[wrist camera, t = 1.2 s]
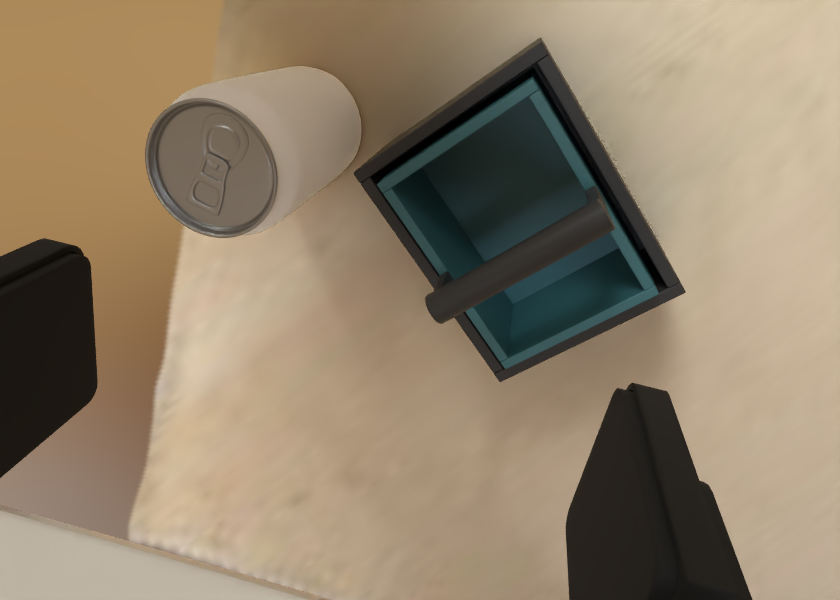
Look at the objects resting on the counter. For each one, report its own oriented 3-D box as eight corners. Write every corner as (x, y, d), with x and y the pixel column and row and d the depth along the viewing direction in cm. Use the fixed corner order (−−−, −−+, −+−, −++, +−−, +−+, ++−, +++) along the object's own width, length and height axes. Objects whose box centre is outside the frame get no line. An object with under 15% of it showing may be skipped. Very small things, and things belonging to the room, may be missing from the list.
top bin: (405, 154, 35) (353, 208, 25) (533, 67, 32) (532, 88, 22) (510, 311, 37) (501, 414, 28) (637, 244, 34) (677, 333, 25)
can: (382, 98, 34) (310, 135, 23) (339, 199, 37) (257, 274, 26) (276, 43, 34) (155, 55, 23) (241, 149, 37) (119, 203, 26)
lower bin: (383, 147, 35) (352, 173, 29) (540, 37, 32) (541, 41, 26) (505, 326, 39) (499, 382, 33) (660, 246, 35) (686, 292, 29)
